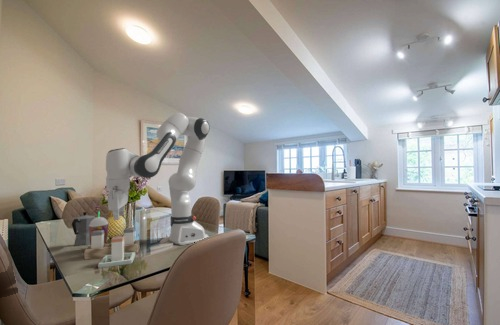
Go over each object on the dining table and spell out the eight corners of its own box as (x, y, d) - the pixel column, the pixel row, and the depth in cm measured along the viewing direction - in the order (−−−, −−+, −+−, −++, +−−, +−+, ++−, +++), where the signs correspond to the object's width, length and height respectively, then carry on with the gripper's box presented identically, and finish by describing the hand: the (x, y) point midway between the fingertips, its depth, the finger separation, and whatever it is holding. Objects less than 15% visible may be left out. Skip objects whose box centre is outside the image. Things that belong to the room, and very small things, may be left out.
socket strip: (139, 251, 113) (139, 240, 113) (137, 256, 107) (137, 244, 107) (89, 257, 106) (90, 245, 107) (84, 263, 100) (84, 250, 100)
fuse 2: (134, 249, 111) (134, 227, 112) (133, 252, 107) (133, 229, 108) (125, 251, 110) (125, 228, 110) (123, 253, 106) (123, 230, 106)
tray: (135, 258, 104) (135, 251, 104) (131, 267, 95) (131, 259, 95) (105, 262, 100) (105, 255, 100) (98, 271, 91) (98, 264, 91)
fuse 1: (104, 253, 107) (104, 229, 107) (101, 256, 103) (101, 232, 104) (93, 254, 106) (94, 230, 106) (90, 257, 102) (91, 232, 102)
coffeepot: (84, 241, 131) (84, 210, 132) (100, 241, 131) (101, 209, 132) (62, 250, 116) (63, 215, 116) (81, 250, 116) (82, 215, 117)
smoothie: (90, 250, 116) (91, 210, 117) (109, 247, 119) (110, 209, 120) (86, 255, 108) (86, 213, 109) (106, 253, 112) (107, 212, 113)
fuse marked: (124, 260, 100) (124, 235, 100) (122, 264, 96) (122, 238, 96) (113, 262, 99) (113, 236, 99) (111, 265, 95) (111, 239, 95)
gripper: (121, 186, 90) (122, 221, 90) (130, 183, 109) (131, 212, 109) (102, 187, 88) (103, 223, 88) (115, 184, 107) (116, 214, 107)
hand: (119, 217), depth 98 cm, fingers open, 8 cm apart
